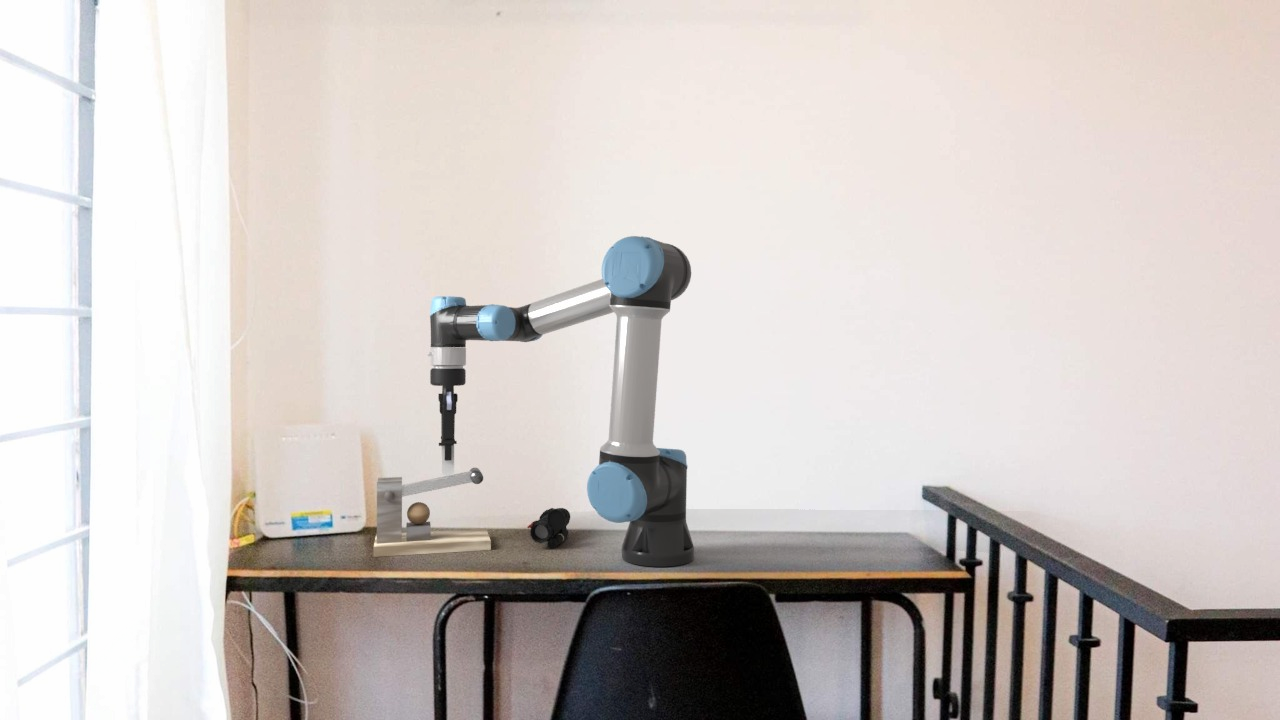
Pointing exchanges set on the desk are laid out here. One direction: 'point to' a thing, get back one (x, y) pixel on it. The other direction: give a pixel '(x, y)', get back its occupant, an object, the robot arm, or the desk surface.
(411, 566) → the desk surface
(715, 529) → the desk surface
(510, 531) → the desk surface
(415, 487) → the lever
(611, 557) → the desk surface
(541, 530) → the night vision scope
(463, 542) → the press base
